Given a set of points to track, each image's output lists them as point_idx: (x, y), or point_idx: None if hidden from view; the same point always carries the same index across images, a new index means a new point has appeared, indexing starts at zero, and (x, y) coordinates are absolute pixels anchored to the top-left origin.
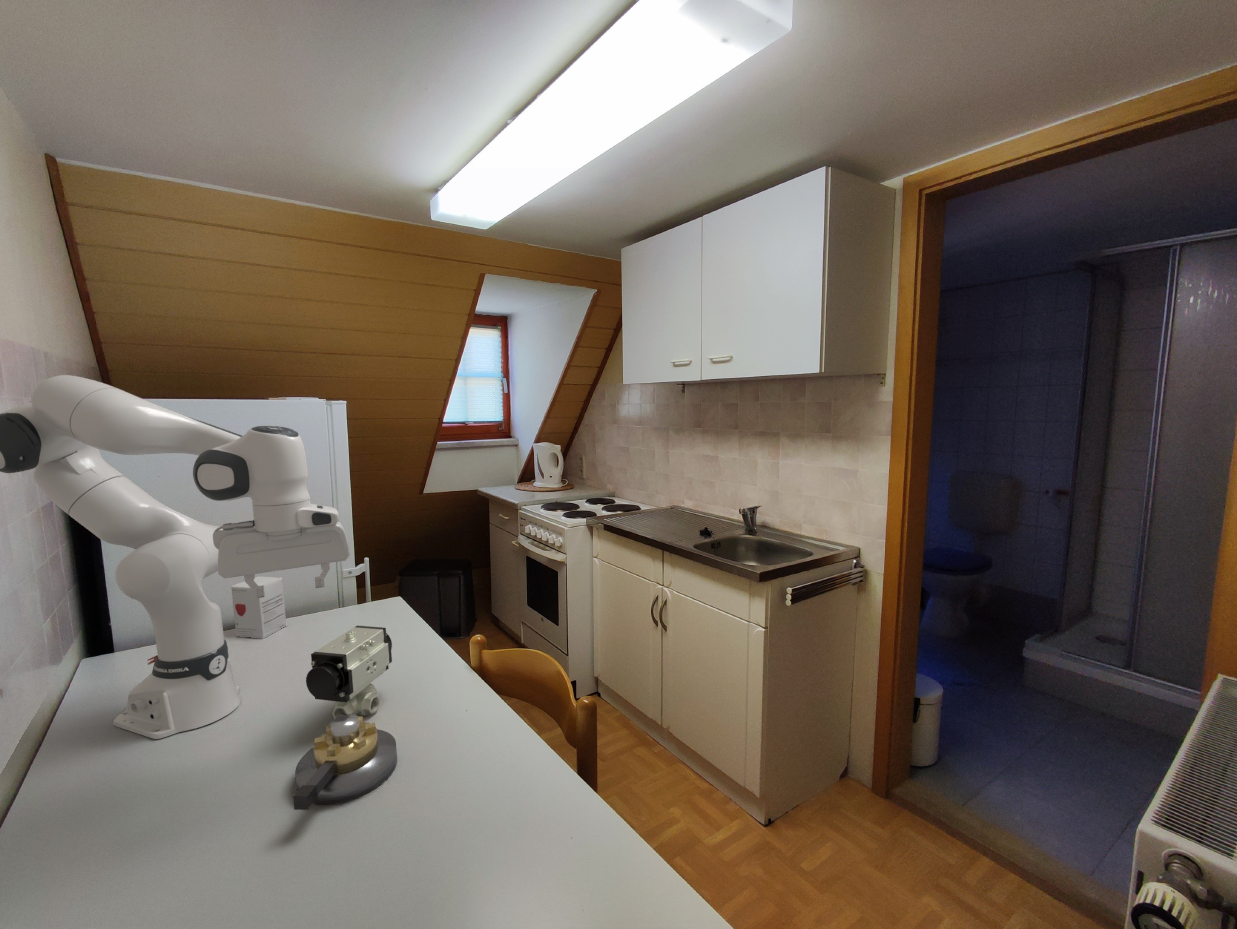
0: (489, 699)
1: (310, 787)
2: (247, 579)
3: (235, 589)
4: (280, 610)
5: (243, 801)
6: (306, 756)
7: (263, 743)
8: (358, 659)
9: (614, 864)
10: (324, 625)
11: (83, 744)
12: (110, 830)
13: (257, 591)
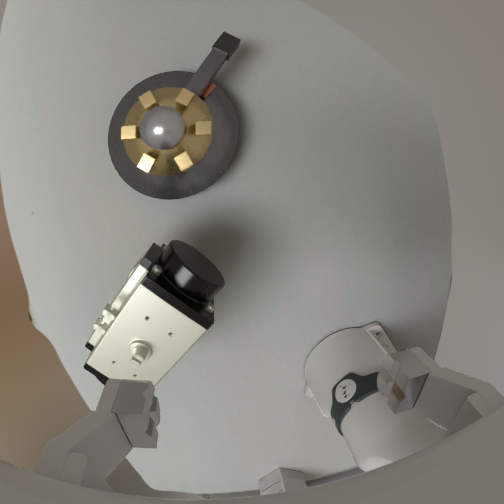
0: (10, 226)
1: (219, 45)
2: (487, 393)
3: None
4: (265, 493)
5: (294, 141)
6: (224, 161)
7: (278, 261)
8: (128, 296)
9: None
10: (220, 475)
11: (419, 337)
12: (400, 172)
13: (423, 364)
